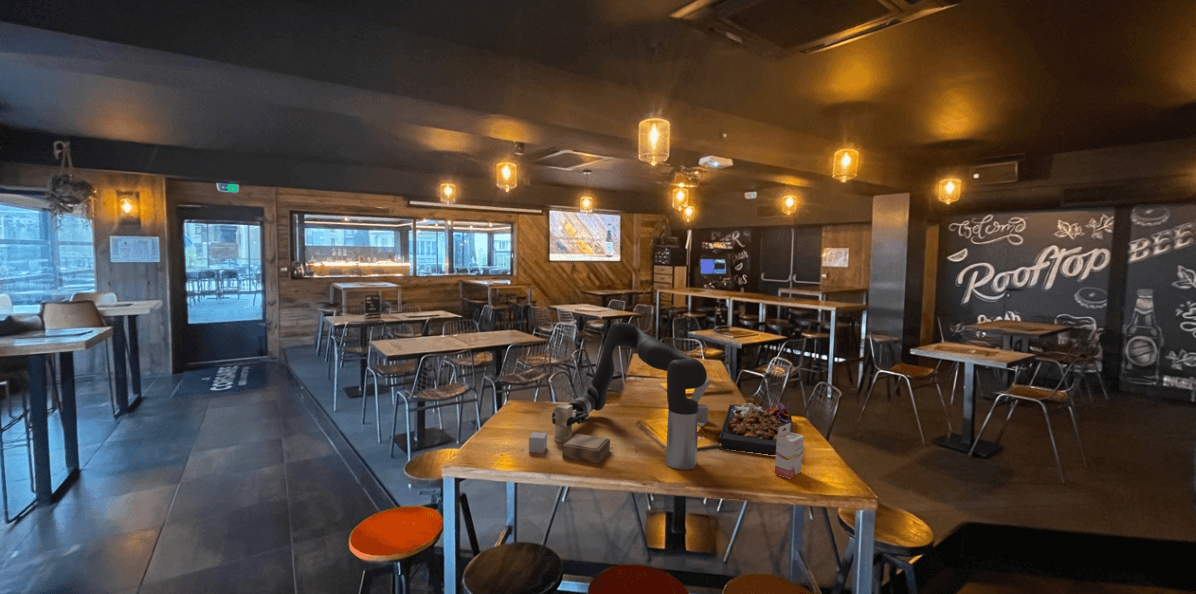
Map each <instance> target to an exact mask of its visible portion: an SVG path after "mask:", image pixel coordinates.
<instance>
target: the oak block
mask: <svg viewBox="0 0 1196 594" xmlns="http://www.w3.org/2000/svg"><path fill="white" fill-rule="evenodd" d="M572 407H573V405H568V403H567V404H566V403H560V404H558V405H556V406H555V409H556V411H555V424H554V442H560V443H564V442H565V443H566V442H567V441H568V440H569V439H571V438H572V437H573V436H572V435H573V434H572V433H573V424H572V425H570V426H567V420H568V419H569V418H570V417H572ZM565 443H564V444H565Z"/></svg>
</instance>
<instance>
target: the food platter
mask: <svg viewBox="0 0 1196 594" xmlns="http://www.w3.org/2000/svg"><path fill="white" fill-rule="evenodd" d="M770 405H771V407H769V408H766V407H763V406H756V405H754V404H753V403H752V402H744V403H743V405H742V404H736V403H735V404H729V405H728V406H729V407H727V408H728V409H727V411H726V415H725V419H724V422H723V424H722V428H721V431H720V435H719V438H718V444H719V443H721V444H722V448H723V449H729V450H728V451H730V450H736V451H745V452H753V453H761V454H768V455H776V445H777V435H778V429H779V427H782V426H784V425H787V424H789V423H791V427H790V432H791V433H794V425H793V420H792V419H793V418H792V411H789V406H790V401H788V403H787V407H785V406H784V404H782V403H780V402H779V403H778V404H777V405H776V407H775V406H774V401H771V404H770ZM785 430H786V428H784V429H783V430H782V431H785ZM723 449H722V450H723ZM736 451H735V452H736Z"/></svg>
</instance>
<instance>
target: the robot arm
mask: <svg viewBox="0 0 1196 594" xmlns="http://www.w3.org/2000/svg"><path fill="white" fill-rule="evenodd" d="M616 347H622V348H629V349H633V350H636V354H637V357H638V358H639V360H641V361H642V362H643V363H645V364H646V365H648V366H650V368H654V369H656V370H660V371H664V372H666V400H667V405H668V407H667V425H666V428H667V430H666V445H665V446H666V450H665V451H666V452H665V464H666V465H667V466H668V467H669V468H671V469H672V468H673V469H677V470H694V469H696V466H697V461H698V460H697V459H698V444H699V443H698V439H699V434H698V432H697V423H698V404H699V402H698V403H697V402H696V401H695V400H692V399H691V397H690V398H689V397H687V396H686V395H687V392H686V390H691V389H694V390H695V388H698V387H701V386H702V385H703V384H704V383H705V382H706V379H707V377H708V373H707V369H706V367H705V366H704V364H703V363H702V362H701V361H700V360H698V359H697V358H694V357H691V356H688V355H686V354H685V353H684V354H683V353H682V352H679V351H678V350H676V349H674V348H673V347H671V346H670V345H668V344H666V343H664V342H662V341H661V340H659V339H657V338H655V337H654V336H651V335H649V334H647V333H646V332H644V331H643V330H642V329H641V328H639V327H638V326H637V325H636V324H633V323H628V322H623V321H614V322H612V324H611V325H610V326H609V328H608V330H607V334H606V338H605V342H604V345H603V349H602V353H601V355H600V360H599V363H598V366H597V368H596V370H595V372H594V375H593V376H592V379H591V385H592V387H590V386H586V387H584V388H583V390H582V391H581V393H580V395H579V397H577V398H575V399H573V400H572V401H571V402H569V403H567V405H573V407H572V417H570V418H569V419H568V420H567V426H570V425H572V426H573V425H575V424H577V425H580V424H583V423H586V422H588V421H589V418H590V417H589V416H590V415H589V414H590V413H591V412H592V411H593V410H594V411H596V412H598V411H601V410H602V409H603V408H604V407H605V405H606V401H607V394H608V389H609V387H610V384H611V382H612V379H613V377H614V375H615V362H614V358H613V357H614V351H615V349H616ZM555 411H556V408H554V409H552V413H551V414H552V415H551V420H552V421H551V422H552V424H553V425H555Z"/></svg>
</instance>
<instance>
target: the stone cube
mask: <svg viewBox="0 0 1196 594" xmlns="http://www.w3.org/2000/svg"><path fill="white" fill-rule="evenodd" d="M547 441H548V433H547V432H536V431H535V432H533V431H532V432H531V434H530V435H529V437H528V453H535V452H538V453H537V454H544V453H545V452H546V449H547V446H548V442H547Z"/></svg>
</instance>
